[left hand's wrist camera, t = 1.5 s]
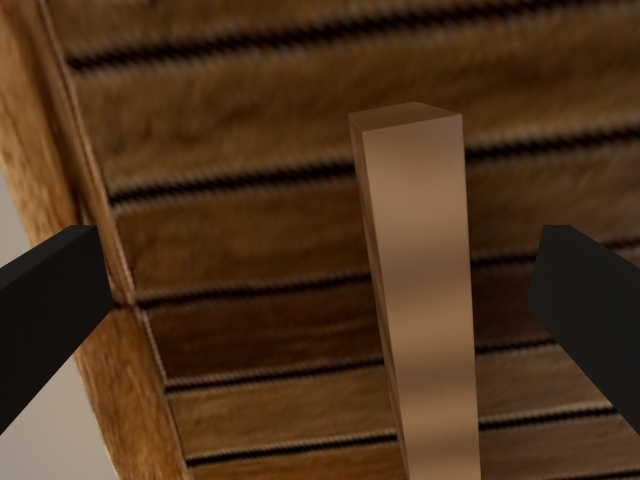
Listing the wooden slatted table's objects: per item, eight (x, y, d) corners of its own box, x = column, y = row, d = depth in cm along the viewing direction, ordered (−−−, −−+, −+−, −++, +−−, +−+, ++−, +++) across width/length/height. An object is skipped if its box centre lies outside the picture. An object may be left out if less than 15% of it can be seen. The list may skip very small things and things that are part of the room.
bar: (346, 113, 27) (361, 132, 18) (415, 100, 27) (463, 113, 18) (391, 413, 36) (416, 521, 28) (442, 406, 36) (483, 512, 27)
